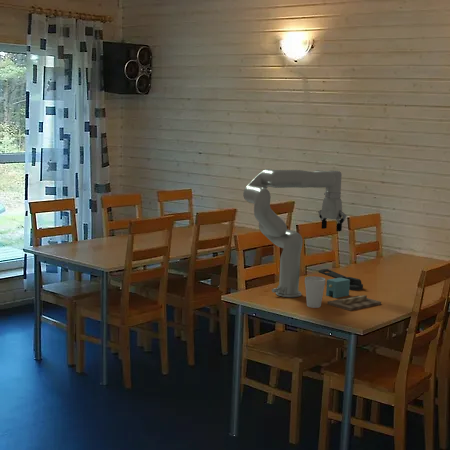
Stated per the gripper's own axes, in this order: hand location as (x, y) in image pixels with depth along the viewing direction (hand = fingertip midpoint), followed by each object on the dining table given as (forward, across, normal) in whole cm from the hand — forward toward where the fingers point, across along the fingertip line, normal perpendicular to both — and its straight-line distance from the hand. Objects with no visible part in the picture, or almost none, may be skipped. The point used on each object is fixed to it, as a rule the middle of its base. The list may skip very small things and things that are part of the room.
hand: (331, 229), depth 356 cm
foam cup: (+31, +16, -29) cm, 46 cm away
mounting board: (+31, +25, -11) cm, 41 cm away
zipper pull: (+32, -4, +14) cm, 35 cm away
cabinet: (+31, +9, -4) cm, 33 cm away
